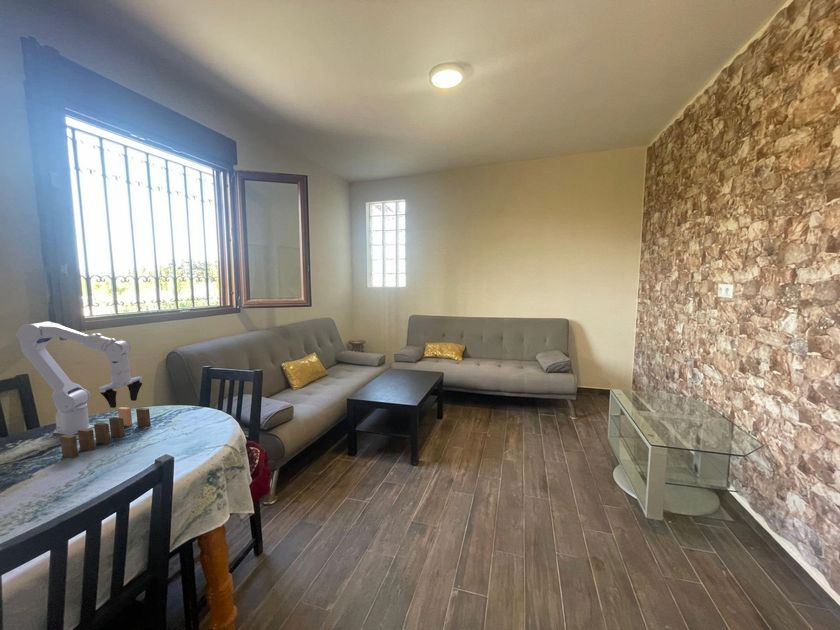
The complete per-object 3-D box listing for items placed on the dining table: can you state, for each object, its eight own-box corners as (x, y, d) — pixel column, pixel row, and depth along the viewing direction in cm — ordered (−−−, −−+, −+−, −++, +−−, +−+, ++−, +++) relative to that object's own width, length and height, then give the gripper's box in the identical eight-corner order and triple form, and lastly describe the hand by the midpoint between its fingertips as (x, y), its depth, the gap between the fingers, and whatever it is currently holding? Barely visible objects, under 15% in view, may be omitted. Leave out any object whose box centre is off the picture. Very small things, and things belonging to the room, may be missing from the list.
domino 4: (120, 437, 125) (118, 419, 124) (111, 436, 126) (109, 418, 125) (124, 436, 127) (123, 418, 126) (115, 434, 128) (113, 417, 127)
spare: (128, 426, 135) (126, 409, 134) (119, 425, 136) (117, 408, 135) (132, 424, 137) (130, 407, 136) (123, 423, 138) (121, 406, 137)
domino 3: (105, 444, 120) (103, 425, 120) (96, 442, 121) (93, 424, 121) (110, 442, 122) (108, 423, 121) (101, 440, 123) (99, 422, 122)
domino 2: (89, 450, 116) (87, 431, 115) (80, 449, 117) (77, 430, 116) (95, 448, 117) (93, 429, 117) (85, 447, 118) (83, 428, 118)
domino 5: (146, 426, 134) (145, 410, 134) (137, 425, 135) (136, 409, 135) (150, 425, 136) (149, 408, 135) (141, 424, 137) (140, 407, 136)
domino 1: (72, 458, 111) (70, 437, 110) (62, 456, 112) (60, 436, 111) (78, 455, 113) (76, 435, 112) (68, 453, 114) (66, 434, 113)
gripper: (107, 376, 126) (111, 411, 127) (146, 366, 140) (149, 398, 141) (93, 375, 128) (97, 410, 129) (133, 365, 142) (136, 396, 143)
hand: (123, 403), depth 135 cm, fingers open, 7 cm apart
